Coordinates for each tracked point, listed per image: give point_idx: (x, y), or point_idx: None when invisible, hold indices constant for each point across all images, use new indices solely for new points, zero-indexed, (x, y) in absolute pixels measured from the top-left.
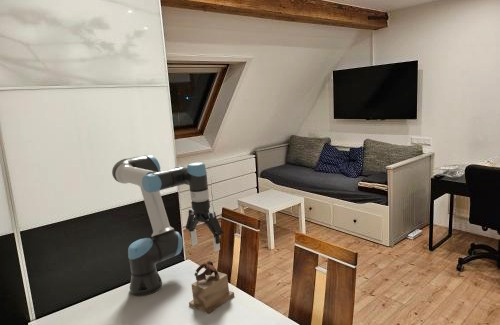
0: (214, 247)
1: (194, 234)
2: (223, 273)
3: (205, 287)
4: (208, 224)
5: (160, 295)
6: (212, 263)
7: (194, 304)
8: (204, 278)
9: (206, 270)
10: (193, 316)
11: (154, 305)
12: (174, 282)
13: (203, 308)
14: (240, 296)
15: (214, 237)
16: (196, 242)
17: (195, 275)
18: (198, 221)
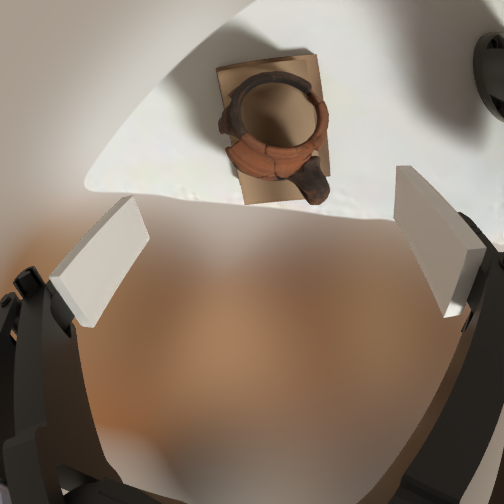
0: (111, 213)
1: (435, 256)
2: (265, 202)
3: (225, 81)
4: (19, 408)
5: (447, 56)
6: (308, 201)
7: (288, 57)
8: (232, 91)
9: (228, 114)
10: (247, 29)
11: (411, 7)
12: (469, 136)
13: (240, 63)
14: (222, 188)
15: (55, 276)
16: (400, 215)
17: (289, 74)
18: (393, 462)
